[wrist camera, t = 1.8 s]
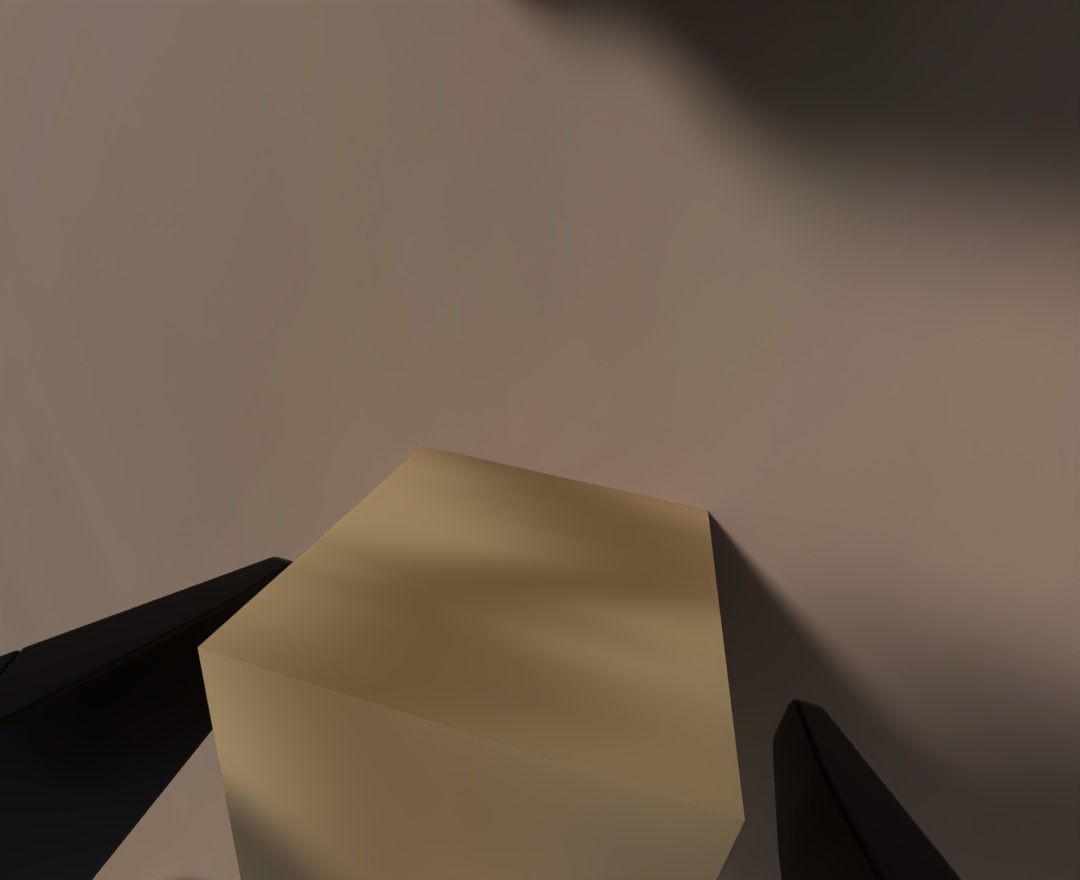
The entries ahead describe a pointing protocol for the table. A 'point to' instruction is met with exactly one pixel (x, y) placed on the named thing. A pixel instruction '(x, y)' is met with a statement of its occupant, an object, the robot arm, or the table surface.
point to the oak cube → (482, 689)
